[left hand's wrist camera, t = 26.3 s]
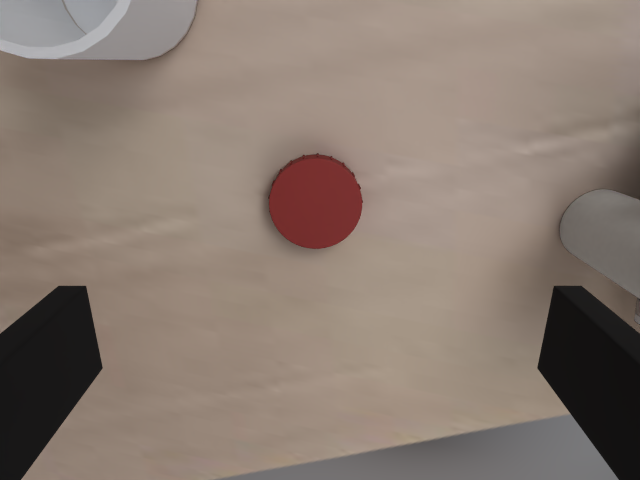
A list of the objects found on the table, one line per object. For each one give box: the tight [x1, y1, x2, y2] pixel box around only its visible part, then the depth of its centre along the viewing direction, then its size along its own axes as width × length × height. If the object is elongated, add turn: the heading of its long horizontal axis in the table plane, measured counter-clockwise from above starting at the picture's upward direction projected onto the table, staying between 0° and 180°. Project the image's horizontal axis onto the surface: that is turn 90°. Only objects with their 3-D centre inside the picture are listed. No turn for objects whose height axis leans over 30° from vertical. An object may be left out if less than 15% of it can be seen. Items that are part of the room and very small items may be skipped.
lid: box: [269, 153, 363, 249], centre depth 30 cm, size 6×6×2 cm
